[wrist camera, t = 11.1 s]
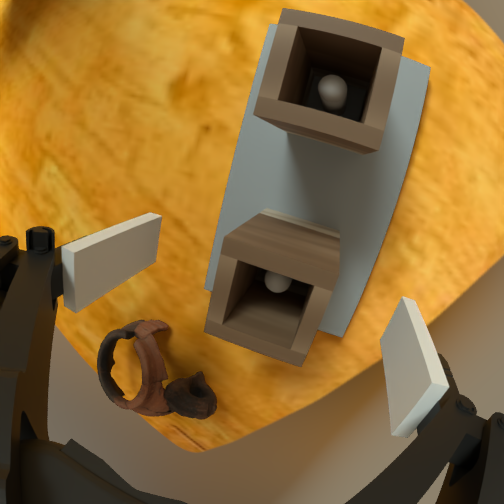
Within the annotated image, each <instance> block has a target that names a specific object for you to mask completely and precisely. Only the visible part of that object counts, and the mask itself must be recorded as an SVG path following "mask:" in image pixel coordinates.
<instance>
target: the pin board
mask: <svg viewBox="0 0 504 504" xmlns="http://www.w3.org/2000/svg"><path fill="white" fill-rule="evenodd" d="M277 26H278V25H276V24H270V25H269V28H268V32H267V35H266V39H265V42H264V45H263V49H262V52H261V56H260V59H259V63H258V67H257V70H256V74H255V77H254V81H253V85H252V88H251V92H250V96H249V99H248V103H247V107H246V111H245V114H244V118H243V122H242V126H241V130H240V134H239V138H238V142H237V146H236V150H235V154H234V158H233V162H232V166H231V170H230V174H229V178H228V183H227V187H226V191H225V195H224V200H223V204H222V208H221V213H220V217H219V221H218V226H217V230H216V235H215V239H214V244H213V249H212V253H211V258H210V263H209V267H208V272H207V277H206V282H205V287H204V289H206V290H209V291H211V292H212V290H213V285H214V280H215V275H216V271H217V266H218V262H219V257H220V252H221V248H222V243H223V239H224V236H226V235H227V234H229V233H230V232H231V231H233V230H234V229H236V228H237V227H239V226H240V225H242V224H243V223H245V222H246V221H248V220H249V219H251V218H252V217H254V216H255V215H257V214H258V213H260V212H261V211H263V210H264V209H266V208H269V209H272V210H275V211H279V212H282V213H285V214H288V215H291V216H295V217H298V218H301V219H304V220H307V221H310V222H314V223H317V224H320V225H323V226H326V227H329V228H332V229H335V230H338V231H340V267H339V277H338V279H337V282H336V285H335V287H334V290H333V293H332V295H331V298H330V300H329V303H328V305H327V308H326V310H325V313H324V315H323V318H322V320H321V323H320V325H319V327H318V330H320V331H323V332H326V333H329V334H332V335H335V336H338V337H343V335H344V333H345V331H346V329H347V326H348V324H349V322H350V320H351V318H352V316H353V313H354V311H355V309H356V307H357V304H358V302H359V300H360V298H361V295H362V293H363V290H364V288H365V286H366V283H367V281H368V279H369V276H370V274H371V271H372V269H373V266H374V264H375V261H376V258H377V256H378V253H379V251H380V248H381V245H382V243H383V240H384V237H385V235H386V232H387V229H388V226H389V223H390V220H391V218H392V215H393V212H394V209H395V206H396V203H397V200H398V196H399V193H400V190H401V187H402V184H403V180H404V177H405V174H406V170H407V167H408V164H409V160H410V156H411V153H412V149H413V145H414V142H415V138H416V134H417V130H418V126H419V121H420V117H421V113H422V108H423V104H424V99H425V94H426V90H427V84H428V79H429V74H430V68H431V67H429V66H426V65H424V64H421V63H419V62H416V61H414V60H411V59H409V58H406V57H403V56H401V61H400V66H399V70H398V75H397V80H396V84H395V89H394V93H393V98H392V102H391V106H390V110H389V114H388V118H387V122H386V126H385V130H384V134H383V138H382V141H381V145H380V149H379V151H376V152H372V153H369V154H365V155H361V154H358V153H355V152H352V151H349V150H346V149H342V148H339V147H336V146H333V145H330V144H326V143H323V142H320V141H316V140H313V139H309V138H306V137H302V136H299V135H295V134H291V133H287V132H285V131H283V130H281V129H280V128H278V127H276V126H274V125H272V124H270V123H268V122H266V121H264V120H262V119H260V118H258V117H256V116H254V115H253V112H254V109H255V105H256V101H257V97H258V94H259V90H260V86H261V83H262V79H263V75H264V72H265V68H266V64H267V61H268V57H269V54H270V50H271V47H272V43H273V40H274V36H275V33H276V29H277ZM365 94H366V90H364V89H360V88H357V87H354V86H351V85H347V84H346V83H345V81H344V80H343V79H342V78H341V77H339V76H337V75H327V76H324V77H323V78H322V77H318V76H314V79H313V83H312V87H311V91H310V95H309V98H308V102H307V106H306V107H308V108H312V109H316V110H319V111H323V112H326V113H330V114H333V115H337V116H340V117H343V118H347V119H350V120H353V121H356V122H358V121H359V118H360V114H361V110H362V106H363V102H364V98H365ZM265 270H266V269H265ZM292 279H293V278H290V277H287V276H284V275H281V274H278V273H275V272H272V271H269V270H268V271H267V272H266V274H265V284H266V286H267V288H268V289H269V290H271V291H273V292H276V293H280V292H283V291H285V290H287V289H288V287H289V286H290V284H291V282H292ZM294 280H296V279H294ZM297 281H299V280H297ZM300 282H302V281H300ZM303 283H305V282H303ZM306 284H308V283H306Z"/></svg>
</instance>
